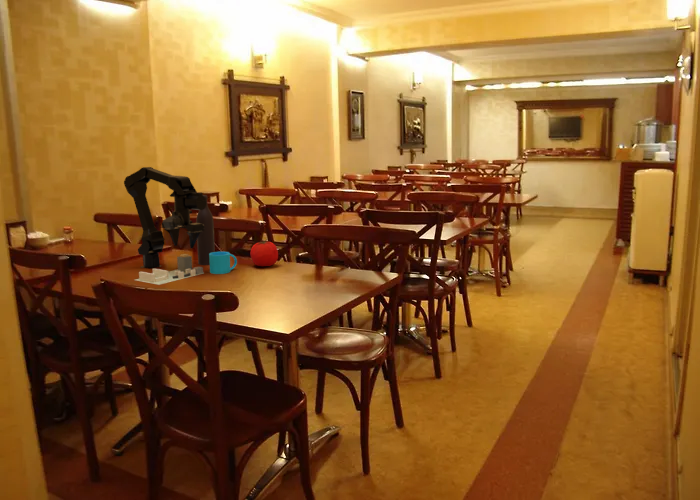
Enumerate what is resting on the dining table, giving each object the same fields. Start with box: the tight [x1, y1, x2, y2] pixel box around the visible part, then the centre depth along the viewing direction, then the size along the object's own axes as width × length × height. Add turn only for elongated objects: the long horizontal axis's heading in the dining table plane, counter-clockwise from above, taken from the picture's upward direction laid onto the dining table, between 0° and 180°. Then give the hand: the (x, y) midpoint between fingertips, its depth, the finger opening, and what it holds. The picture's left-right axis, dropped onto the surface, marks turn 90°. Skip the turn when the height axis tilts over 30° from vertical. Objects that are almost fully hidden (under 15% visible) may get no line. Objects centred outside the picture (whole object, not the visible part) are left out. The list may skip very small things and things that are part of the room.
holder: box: [138, 268, 169, 282], centre depth 227 cm, size 9×7×3 cm
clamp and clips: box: [175, 266, 204, 280], centre depth 233 cm, size 4×12×2 cm, turn 148°
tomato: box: [249, 240, 279, 267], centre depth 253 cm, size 12×12×11 cm
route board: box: [134, 269, 204, 286], centre depth 232 cm, size 14×23×1 cm, turn 148°
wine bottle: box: [195, 194, 216, 266], centre depth 254 cm, size 7×7×30 cm
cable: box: [173, 273, 190, 279], centre depth 232 cm, size 2×10×1 cm, turn 148°
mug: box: [209, 251, 238, 275], centre depth 241 cm, size 12×8×8 cm
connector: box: [176, 253, 193, 272], centre depth 241 cm, size 4×4×7 cm
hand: (183, 246), depth 240 cm, fingers open, 9 cm apart
